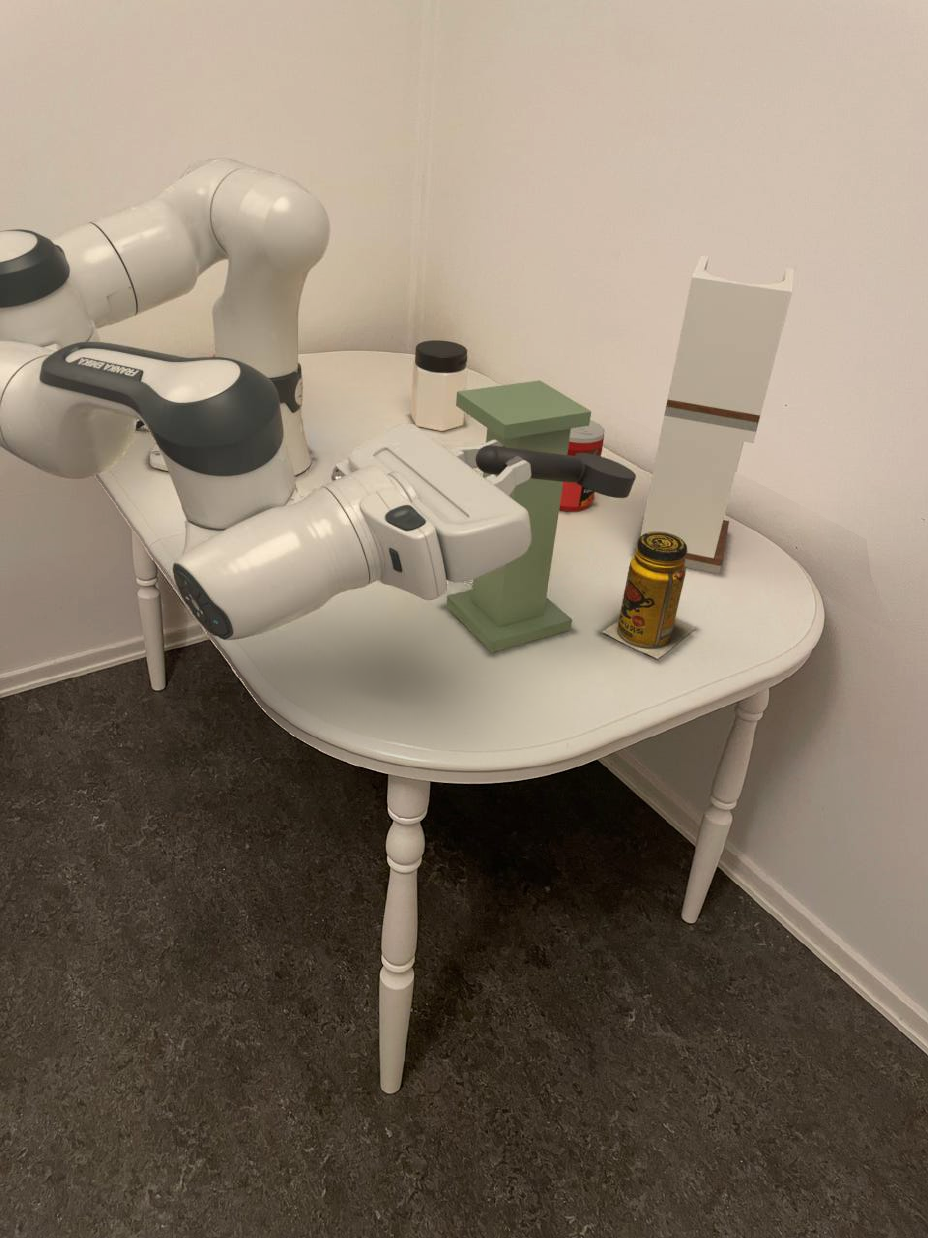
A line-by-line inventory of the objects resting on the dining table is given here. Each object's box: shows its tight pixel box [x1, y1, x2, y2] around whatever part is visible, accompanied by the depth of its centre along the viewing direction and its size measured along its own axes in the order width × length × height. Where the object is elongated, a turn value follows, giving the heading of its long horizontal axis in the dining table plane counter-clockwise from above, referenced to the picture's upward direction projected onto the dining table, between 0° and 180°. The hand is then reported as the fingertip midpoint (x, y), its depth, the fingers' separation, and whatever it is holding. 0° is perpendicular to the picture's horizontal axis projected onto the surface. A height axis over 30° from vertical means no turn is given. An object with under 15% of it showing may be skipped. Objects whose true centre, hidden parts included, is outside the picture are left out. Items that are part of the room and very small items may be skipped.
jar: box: [410, 339, 469, 432], centre depth 153 cm, size 9×8×12 cm
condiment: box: [601, 531, 696, 660], centre depth 106 cm, size 7×8×12 cm
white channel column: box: [639, 255, 795, 575], centre depth 117 cm, size 11×11×35 cm
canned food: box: [559, 419, 606, 513], centre depth 133 cm, size 8×8×11 cm
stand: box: [445, 380, 592, 654], centre depth 102 cm, size 12×10×26 cm
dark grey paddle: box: [476, 445, 637, 499], centre depth 86 cm, size 18×6×2 cm, turn 121°
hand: (514, 457), depth 83 cm, fingers closed on dark grey paddle, 2 cm apart
